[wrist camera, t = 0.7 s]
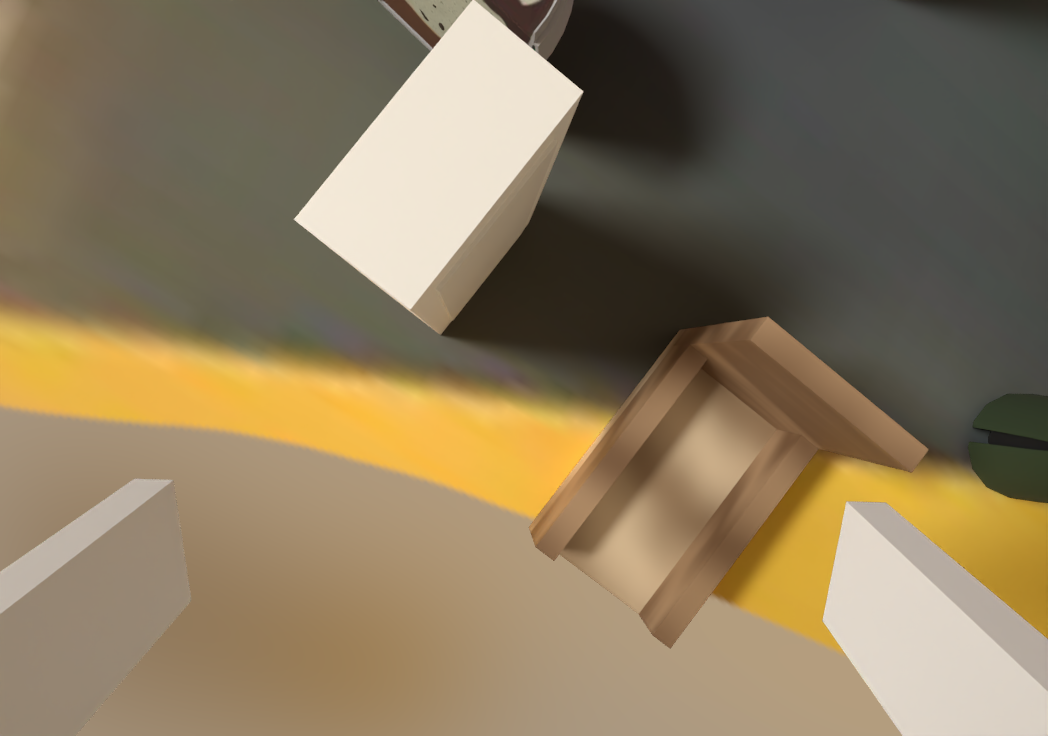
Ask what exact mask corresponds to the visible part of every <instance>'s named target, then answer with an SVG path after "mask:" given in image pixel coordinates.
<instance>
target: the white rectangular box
mask: <svg viewBox="0 0 1048 736" xmlns="http://www.w3.org/2000/svg"><path fill="white" fill-rule="evenodd" d="M582 94H583V91H582V90H581V89H580V88H578V87H577V86H576V85H575V84H574V83H572V82H571V81H570V80H569V79H568V78H567V77H565V76H564V75H563V74H562V73H561V72H559V71H558V70H557V69H556V68H555V67H553V66H552V65H551V64H550V63H549V62H547V61H546V60H545V59H544V58H543V57H542V56H540V55H539V54H538V53H537V52H536V51H534V50H533V49H532V48H531V47H530V46H528V45H527V44H526V43H525V42H524V41H522V40H521V39H520V38H519V37H518V36H517V35H515V34H514V33H513V32H512V31H511V30H509V29H508V28H507V27H506V26H505V25H503V24H502V23H501V22H500V21H499V20H497V19H496V18H495V17H494V16H493V15H492V14H490V13H489V12H488V11H487V10H486V9H484V8H483V7H482V6H481V5H480V4H478V3H477V2H476V1H475V0H472V1H471V2H470V4H469V5H468V6H467V7H466V9H465V10H464V11H463V12H462V14H461V15H460V16H459V17H458V18H457V20H456V21H455V22H454V23H453V25H452V26H451V27H450V28H449V30H448V31H447V32H446V33H445V34H444V36H443V37H442V38H441V39H440V41H439V42H438V43H437V44H436V46H435V47H434V48H433V49H432V50H431V52H430V53H429V54H428V55H427V57H426V58H425V59H424V60H423V62H422V63H421V64H420V65H419V66H418V68H417V69H416V70H415V71H414V73H413V74H412V75H411V76H410V77H409V79H408V80H407V81H406V82H405V84H404V85H403V86H402V87H401V89H400V90H399V91H398V92H397V93H396V95H395V96H394V97H393V98H392V100H391V101H390V102H389V103H388V105H387V106H386V107H385V108H384V109H383V111H382V112H381V113H380V114H379V116H378V117H377V118H376V119H375V121H374V122H373V123H372V124H371V125H370V127H369V128H368V129H367V130H366V132H365V133H364V134H363V135H362V137H361V138H360V139H359V140H358V141H357V143H356V144H355V145H354V146H353V148H352V149H351V150H350V151H349V153H348V154H347V155H346V156H345V157H344V159H343V160H342V161H341V162H340V164H339V165H338V166H337V167H336V169H335V170H334V171H333V172H332V173H331V175H330V176H329V177H328V178H327V180H326V181H325V182H324V183H323V185H322V186H321V187H320V188H319V189H318V191H317V192H316V193H315V194H314V196H313V197H312V198H311V199H310V201H309V202H308V203H307V204H306V205H305V207H304V208H303V209H302V210H301V212H300V213H299V214H298V215H297V217H296V218H295V219H294V220H295V221H296V222H298V223H299V224H300V225H301V226H303V227H304V228H305V229H307V230H308V231H309V232H310V233H312V234H313V235H314V236H315V237H317V238H318V239H319V240H320V241H322V242H323V243H324V244H325V245H327V246H328V247H329V248H330V249H332V250H333V251H334V252H335V253H337V254H338V255H339V256H340V257H342V258H343V259H344V260H345V261H347V262H348V263H349V264H350V265H352V266H353V267H354V268H356V269H357V270H358V271H359V272H361V273H362V274H363V275H364V276H366V277H367V278H368V279H369V280H371V281H372V282H373V283H374V284H376V285H377V286H378V287H379V288H381V289H382V290H383V291H384V292H386V293H387V294H388V295H390V296H391V297H392V298H393V299H395V300H396V301H397V302H399V303H400V304H401V305H402V306H404V307H405V308H406V309H408V310H409V311H410V312H411V313H413V314H414V315H415V316H417V317H418V318H419V319H420V320H422V321H423V322H424V323H426V324H427V325H428V326H429V327H431V328H432V329H433V330H435V331H436V332H437V333H438V334H440V335H441V334H442V333H443V331H444V330H445V329H446V328H447V326H448V325H449V324H450V322H451V321H452V320H454V319H455V318H456V316H457V315H458V314H459V313H460V311H461V310H462V309H463V307H464V306H465V305H466V304H467V302H468V301H469V300H470V299H471V297H472V296H473V295H474V293H475V292H476V291H477V290H478V288H479V287H480V286H481V285H482V283H483V282H484V281H485V280H486V278H487V277H488V276H489V274H490V273H491V272H492V271H493V269H494V268H495V267H496V266H497V264H498V263H499V262H500V261H501V259H502V258H503V257H504V255H505V254H506V253H507V252H508V250H509V249H510V248H511V247H512V245H513V244H514V243H515V242H516V240H517V239H518V238H519V236H520V235H521V234H522V232H523V230H524V229H525V227H526V226H527V225H528V224H529V221H530V219H531V217H532V214H533V212H534V209H535V207H536V205H537V202H538V200H539V197H540V195H541V193H542V190H543V188H544V185H545V183H546V181H547V178H548V176H549V173H550V171H551V169H552V166H553V164H554V161H555V159H556V156H557V154H558V152H559V149H560V147H561V144H562V142H563V140H564V137H565V135H566V132H567V130H568V128H569V125H570V123H571V120H572V118H573V116H574V113H575V111H576V108H577V106H578V103H579V101H580V99H581V96H582Z"/></svg>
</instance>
